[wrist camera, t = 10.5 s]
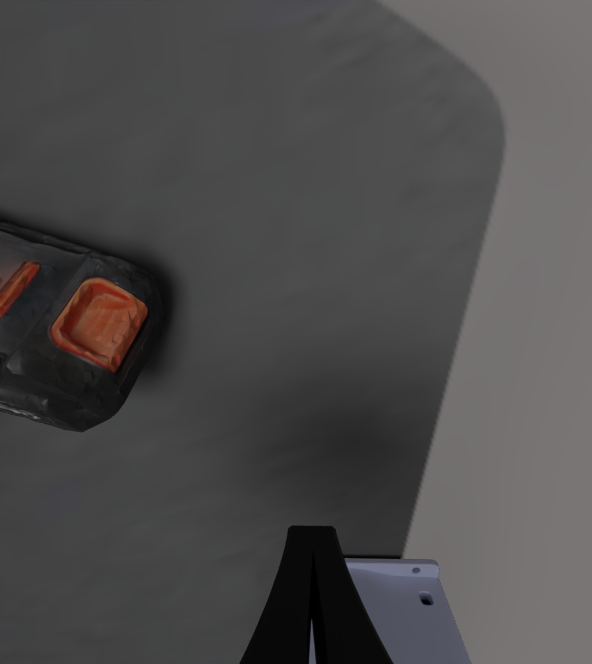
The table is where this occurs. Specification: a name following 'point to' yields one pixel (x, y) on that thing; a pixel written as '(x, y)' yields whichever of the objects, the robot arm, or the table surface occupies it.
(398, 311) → the table surface
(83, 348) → the battery
